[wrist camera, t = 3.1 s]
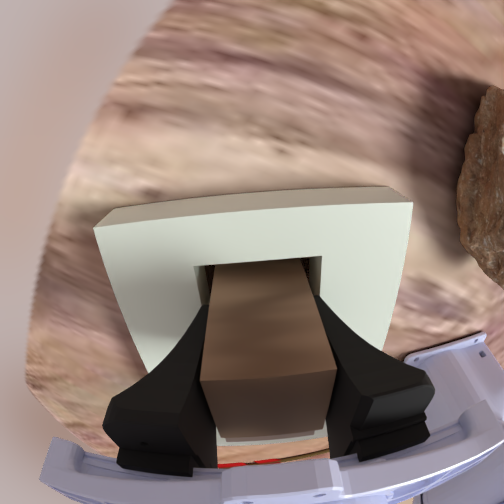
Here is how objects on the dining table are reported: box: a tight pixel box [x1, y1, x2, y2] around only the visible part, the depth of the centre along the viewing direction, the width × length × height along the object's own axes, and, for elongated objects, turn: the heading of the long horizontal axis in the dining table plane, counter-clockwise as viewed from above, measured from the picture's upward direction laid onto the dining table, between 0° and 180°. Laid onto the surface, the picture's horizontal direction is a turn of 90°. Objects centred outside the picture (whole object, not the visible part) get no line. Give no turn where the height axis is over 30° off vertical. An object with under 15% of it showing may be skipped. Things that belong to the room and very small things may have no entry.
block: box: [200, 258, 337, 438], centre depth 12 cm, size 4×4×8 cm
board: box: [93, 187, 413, 446], centre depth 17 cm, size 14×20×3 cm
